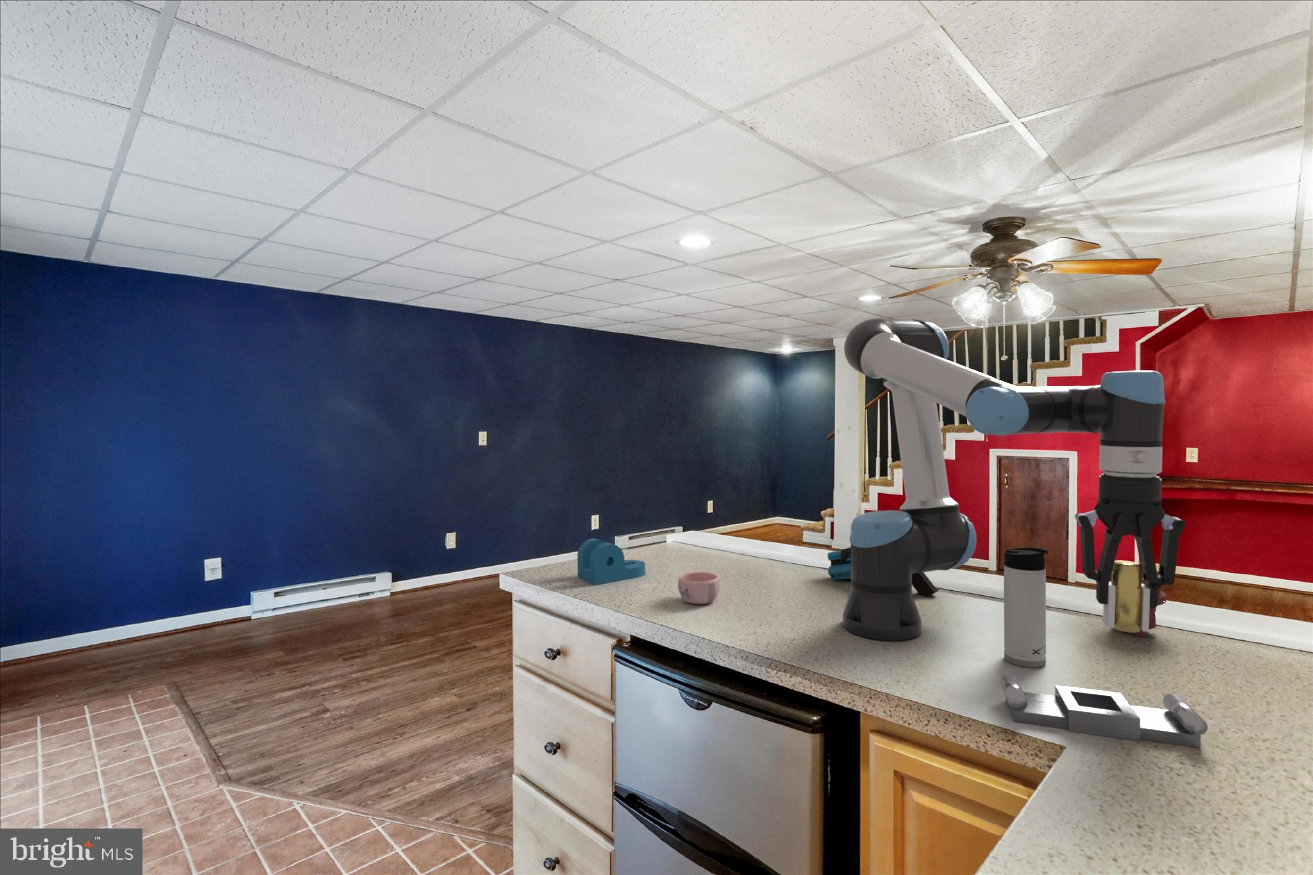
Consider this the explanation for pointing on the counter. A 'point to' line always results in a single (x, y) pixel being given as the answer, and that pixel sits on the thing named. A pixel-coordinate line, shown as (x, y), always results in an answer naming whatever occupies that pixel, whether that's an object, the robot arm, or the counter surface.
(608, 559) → the camera mount
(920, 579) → the gun
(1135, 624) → the pin
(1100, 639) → the counter surface
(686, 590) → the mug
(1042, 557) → the travel mug
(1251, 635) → the counter surface
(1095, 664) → the counter surface
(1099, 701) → the square socket base
